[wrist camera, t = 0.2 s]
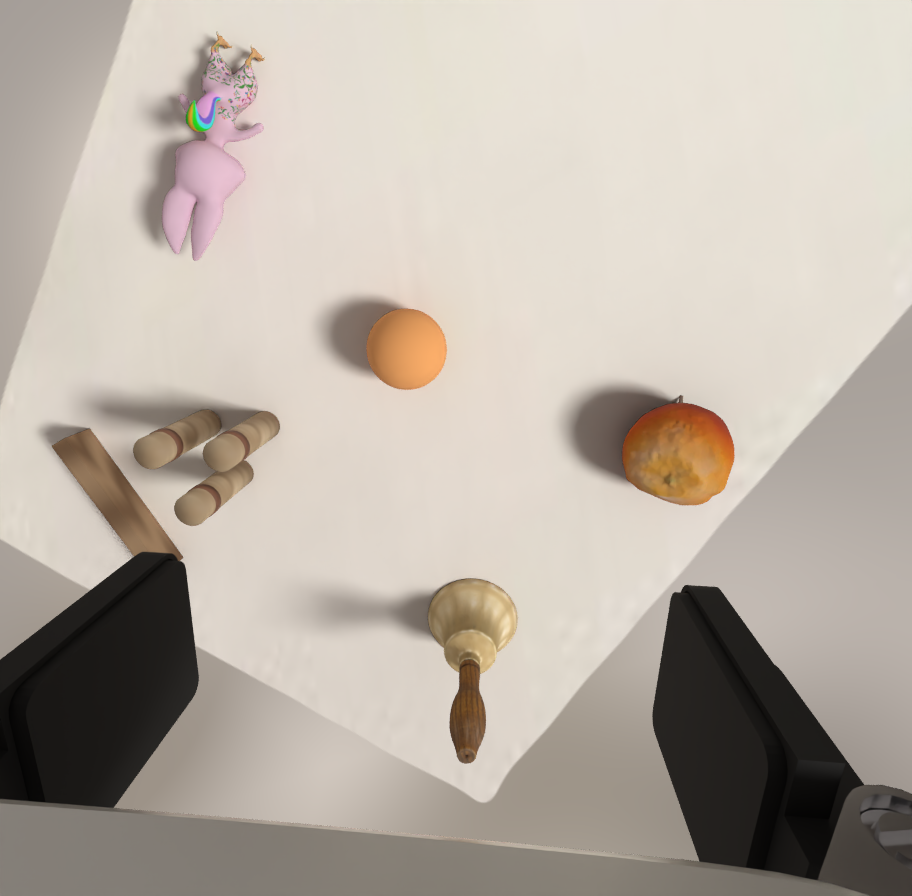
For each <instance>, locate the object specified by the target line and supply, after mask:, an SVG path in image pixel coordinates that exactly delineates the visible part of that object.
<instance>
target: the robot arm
mask: <svg viewBox="0 0 912 896" xmlns="http://www.w3.org/2000/svg"><path fill="white" fill-rule="evenodd" d="M198 681H199V675H198V667H197V658H196V650H195V642H194V633H193V625H192V617H191V608H190V600H189V592H188V583H187V575H186V568H185V565H184V563H183V562H181V561H178V559H177V557H176V556H175V555H174V554H173V553H159V552H140V553H139V554H137V555H136V556H134V557H133V558H132V559H131V560H129V561H128V562H127V563H125V564H124V565H123V566H121V567H120V568H119V569H118V570H116V571H115V572H114V573H112V574H111V575H110V576H108V577H107V578H106V579H105V580H103V581H102V582H101V583H99V584H98V585H97V586H95V587H94V588H93V589H92V590H90V591H89V592H88V593H86V594H85V595H84V596H83V597H81V598H80V599H79V600H77V601H76V602H75V603H73V604H72V605H71V606H69V607H68V608H67V609H66V610H64V611H63V612H62V613H60V614H59V615H58V616H56V617H55V618H54V619H53V620H51V621H50V622H49V623H47V624H46V625H45V626H43V627H42V628H41V629H40V630H38V631H37V632H36V633H34V634H33V635H32V636H31V637H29V638H28V639H27V640H25V641H24V642H23V643H21V644H20V645H19V646H17V647H16V648H15V649H14V650H12V651H11V652H10V653H8V654H7V655H6V656H5V657H3V658H2V659H1V660H0V896H912V794H911V793H909V792H906V791H904V790H902V789H897V788H893V787H889V786H885V785H864V784H863V783H862V781H861V780H860V778H859V777H858V776H857V774H856V773H855V772H854V770H853V769H852V768H851V766H850V765H849V763H848V762H847V761H846V760H845V758H844V756H843V755H842V754H841V752H840V751H839V750H838V748H837V747H836V745H835V744H834V743H833V741H832V740H831V739H830V737H829V736H828V734H827V733H826V732H825V730H824V729H823V728H822V726H821V725H820V723H819V722H818V721H817V719H816V718H815V717H814V715H813V714H812V712H811V711H810V710H809V708H808V707H807V706H806V705H805V703H804V702H803V700H802V699H801V697H800V696H799V695H798V693H797V692H796V690H795V689H794V688H793V686H792V685H791V684H790V682H789V681H788V680H787V678H786V677H785V675H784V674H783V673H782V671H781V670H780V669H779V668H778V667H777V666H776V665H774V664H773V662H772V661H771V659H770V658H769V657H768V655H767V654H766V653H765V651H764V650H763V649H762V647H761V646H760V644H759V643H758V642H757V640H756V639H755V637H754V636H753V635H752V633H751V632H750V630H749V629H748V628H747V626H746V625H745V623H744V622H743V621H742V619H741V618H740V616H739V615H738V614H737V612H736V611H735V609H734V608H733V607H732V605H731V604H730V603H729V601H728V600H727V598H726V597H725V596H724V594H723V593H722V592H721V590H720V589H719V588H718V587H707V586H691V585H685V586H684V587H683V589H682V591H681V593H677V592H675V593H673V594H672V597H671V601H670V607H669V613H668V619H667V626H666V632H665V638H664V644H663V651H662V657H661V663H660V669H659V675H658V681H657V688H656V694H655V700H654V707H653V727H654V731H655V735H656V738H657V741H658V743H659V747H660V749H661V752H662V755H663V758H664V761H665V763H666V766H667V769H668V772H669V775H670V778H671V781H672V784H673V787H674V789H675V792H676V795H677V798H678V801H679V804H680V807H681V809H682V812H683V815H684V818H685V821H686V824H687V826H688V829H689V832H690V835H691V838H692V841H693V844H694V846H695V850H696V852H697V855H698V858H699V861H700V862H698V861H691V860H684V859H672V858H661V857H650V856H641V855H632V854H621V853H612V852H603V851H591V850H582V849H571V848H561V847H549V846H539V845H527V844H518V843H507V842H496V841H486V840H475V839H466V838H465V839H464V838H454V837H444V836H434V835H423V834H411V833H400V832H389V831H378V830H367V829H366V830H365V829H355V828H344V827H333V826H322V825H310V824H299V823H286V822H275V821H264V820H253V819H241V818H230V817H216V816H204V815H193V814H180V813H169V812H155V811H144V810H132V809H119V808H114V806H115V805H116V804H117V802H118V801H119V799H120V798H121V797H122V795H123V794H124V792H125V791H126V790H127V788H128V787H129V786H130V784H131V783H132V781H133V780H134V778H135V777H136V776H137V774H138V773H139V772H140V770H141V769H142V768H143V766H144V765H145V764H146V762H147V761H148V759H149V758H150V757H151V755H152V754H153V752H154V751H155V750H156V748H157V747H158V746H159V744H160V743H161V741H162V740H163V738H164V737H165V736H166V734H167V733H168V732H169V730H170V729H171V727H172V726H173V725H174V723H175V722H176V721H177V719H178V718H179V716H180V715H181V714H182V712H183V711H184V709H185V708H186V707H187V705H188V704H189V702H190V701H191V700H192V698H193V697H194V695H195V693H196V690H197V686H198Z"/></svg>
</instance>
